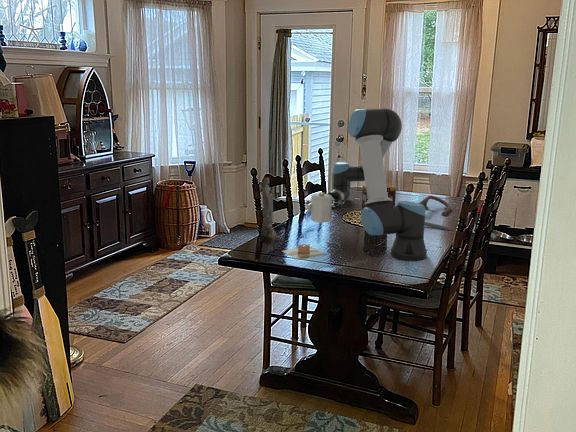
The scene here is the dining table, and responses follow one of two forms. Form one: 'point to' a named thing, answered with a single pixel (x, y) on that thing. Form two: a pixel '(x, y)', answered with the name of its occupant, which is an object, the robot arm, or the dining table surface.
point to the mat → (332, 241)
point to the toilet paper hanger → (424, 202)
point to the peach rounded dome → (303, 249)
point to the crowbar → (437, 226)
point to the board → (298, 256)
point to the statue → (267, 214)
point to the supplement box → (392, 195)
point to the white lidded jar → (321, 207)
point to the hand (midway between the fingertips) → (318, 208)
